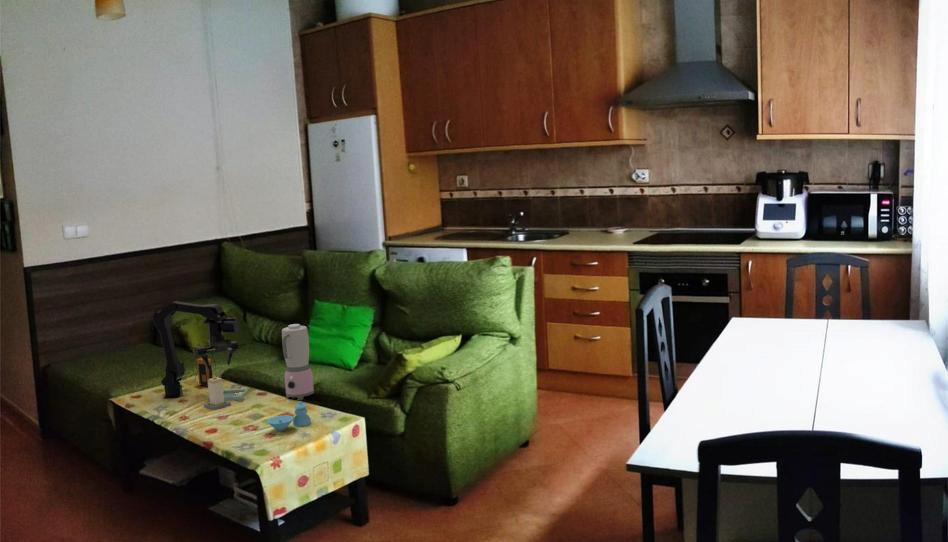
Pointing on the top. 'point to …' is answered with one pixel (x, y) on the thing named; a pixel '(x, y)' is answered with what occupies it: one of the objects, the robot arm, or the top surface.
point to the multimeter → (204, 371)
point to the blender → (297, 361)
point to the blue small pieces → (291, 418)
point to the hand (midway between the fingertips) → (218, 366)
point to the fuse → (215, 391)
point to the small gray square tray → (217, 406)
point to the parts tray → (232, 396)
